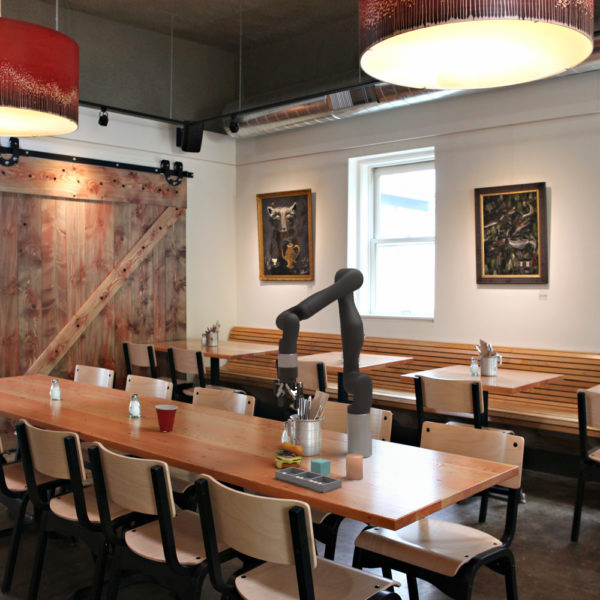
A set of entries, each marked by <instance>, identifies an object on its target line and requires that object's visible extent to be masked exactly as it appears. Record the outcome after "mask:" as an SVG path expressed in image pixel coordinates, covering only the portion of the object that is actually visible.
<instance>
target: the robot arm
mask: <svg viewBox="0 0 600 600" xmlns="http://www.w3.org/2000/svg"><path fill="white" fill-rule="evenodd" d="M333 280H334V281H333V282H334V283H333V284H331V285H329V286H328V287H326V288H323V289H321V290H320V291H319V290H318V291H316V292H315V293H313V294H311V295H309V296H308V297H306V298H305V299H303V300H301V301H299V303H297V304H295V305H294V306H292V307H290V308H288V309H285V310H283V311H282V312H281V313H279V314H278V315H277V316H276V319H275V326H276V328H277V329H278V330H280V331H282V337H281V338H280V339H279V340H278V356H277V358H278V359H277V377H278V378H275V379H273V391H272V392H273V395H275V396H276V397H277V406H278V407H280V408H281V407H284V402H285V401H284V400H285V399H284V395H285V393H289V394H290V395H291V396H292V398H293V401H292V402H293V403H292V404H293V407H292V408H293V410H299V408H300V400H301V399H303V398H304V383H303V381H297V379H298V377H299V360H298V359H299V358H298V338H299V335H300V328H301V323H300V322H301V321H305V320H309V319H311V318H312V317H313V316H315V315H316V314H318V313H319V312H321V311H322V310H324V309H325V308H326V307H328V306H329V305H331V304H333V303H334V302H336V301H337V303H338V304H337V305H338V313H339V314H338V315H339V316H338V317H339V329H340V341H341V349H342V367H343V368H342V369H343V370H342V385H343V389H344V391H345V392H346V393H347V394H349V395H352V396H353V398H352V403H349V404H348V405H347V407H346V414H347V415H346V416H347V417H346V421H347V422H346V423H347V425H346V427H347V430H346V431H347V433H346V434H347V435H346V437H347V439H346V442H347V444H346V445H347V446H346V447H347V454H346V455H348V454H361V455H363V459H364V458H368V457H370V456H371V455H373V438H372V437H373V432H372V430H371V408H372V405H373V394H374V393H373V392H374V385H373V383H374V382H373V381H372V380H373V379H372V378H371V376H370V375H369V374H367V373H362V372H361V371H360V354H361V352H362V349H363V347H364V344H365V332H364V323H363V319H362V317H361V314H360V312H359V309H358V308H357V305H356V303H355V295H354V292H356V291H357V290H360V289H361V287H362V286H363V284H364V274H363V273H362V271H361V270H360V269H357V268H355V267H354V268H353V267H345V268H339V269H338V270H337V271H336V272H335V274H334V279H333Z"/></svg>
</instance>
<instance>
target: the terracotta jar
mask: <svg viewBox="0 0 600 600" xmlns="http://www.w3.org/2000/svg"><path fill="white" fill-rule="evenodd" d="M345 478H347V479H346V480H348V481H353V480H357V481H362V480H363V479H364V458H363V455H361V454H348V455H347V454H346V455H345Z"/></svg>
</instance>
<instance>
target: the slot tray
mask: <svg viewBox="0 0 600 600" xmlns="http://www.w3.org/2000/svg"><path fill="white" fill-rule="evenodd" d="M274 475H275V476H274V478H275V480H279V481H283V482H286V483H288V484H292V485H296V486H298V487H299V486H300V487H303V488H305V489H309V490H312V491H315V492H319V493H321V492H323V493H322V494H325V492H326V493H329V492H332V491H335V489H336V490H339V489H341V488H342V484H343V481H342V479H338V478H335V477H331V476H329V475H326V476H325V475H321V474H318V473H314V472H311V470H306V469H303V468H300V467H290V468H281V469H280V470H275V472H274ZM338 488H339V489H338Z"/></svg>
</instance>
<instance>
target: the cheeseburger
mask: <svg viewBox="0 0 600 600" xmlns="http://www.w3.org/2000/svg"><path fill="white" fill-rule="evenodd" d="M279 449H280V450H281V451H280V450H278V451H276V453H275V454H276V455H275V456H276V457H275V459H274V460H275V466H276V467H277V469H280V470H281V469H286V468H290V467H296V468H299V467H300V464H301V461H302V460H301V459H302V456H304V455H305V454H304V450H303V447H302V446H301V445H298V444H293V443H291V442H289V441H284V442H282V443H281V444H280V446H279Z"/></svg>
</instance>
